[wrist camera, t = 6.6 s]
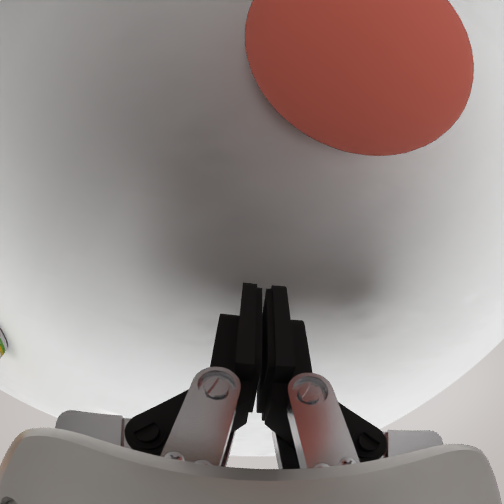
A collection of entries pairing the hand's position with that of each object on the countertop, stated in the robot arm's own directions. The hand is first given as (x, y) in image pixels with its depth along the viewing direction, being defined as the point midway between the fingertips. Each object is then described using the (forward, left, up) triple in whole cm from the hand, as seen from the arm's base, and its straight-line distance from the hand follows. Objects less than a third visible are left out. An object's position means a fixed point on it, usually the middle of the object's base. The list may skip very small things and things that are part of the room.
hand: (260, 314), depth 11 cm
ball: (-10, +2, +2) cm, 10 cm away
